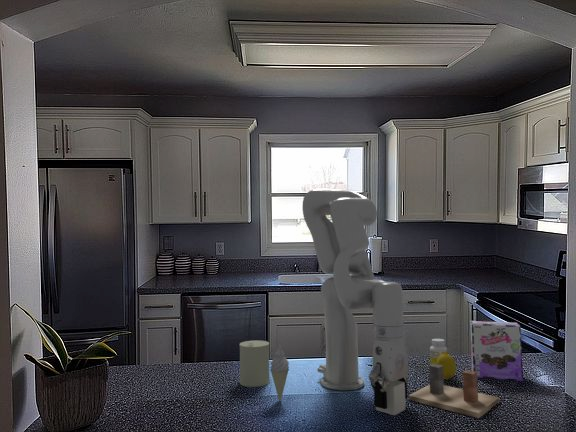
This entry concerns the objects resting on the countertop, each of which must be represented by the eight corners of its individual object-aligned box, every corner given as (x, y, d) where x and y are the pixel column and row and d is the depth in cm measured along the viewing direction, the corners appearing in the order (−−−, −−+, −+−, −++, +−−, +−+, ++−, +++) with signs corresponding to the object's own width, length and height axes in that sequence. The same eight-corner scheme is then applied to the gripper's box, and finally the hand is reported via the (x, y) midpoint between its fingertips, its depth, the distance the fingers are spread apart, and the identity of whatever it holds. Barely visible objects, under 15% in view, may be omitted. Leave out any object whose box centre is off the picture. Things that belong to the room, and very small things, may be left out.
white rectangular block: (376, 409, 107) (375, 382, 107) (387, 404, 110) (386, 377, 111) (394, 415, 103) (393, 387, 103) (405, 409, 107) (404, 382, 107)
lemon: (458, 383, 126) (457, 355, 127) (438, 382, 127) (437, 354, 128) (454, 377, 132) (453, 351, 132) (435, 376, 133) (434, 350, 133)
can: (234, 385, 127) (234, 344, 128) (246, 376, 136) (246, 338, 137) (263, 388, 124) (263, 346, 125) (274, 378, 133) (273, 339, 134)
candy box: (473, 377, 131) (470, 323, 132) (471, 372, 137) (469, 320, 138) (524, 381, 127) (520, 325, 128) (520, 376, 132) (517, 321, 133)
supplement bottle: (446, 368, 142) (445, 338, 142) (450, 373, 136) (448, 341, 137) (429, 368, 142) (428, 337, 143) (432, 372, 137) (431, 341, 138)
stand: (408, 400, 113) (407, 368, 114) (433, 387, 123) (432, 357, 124) (478, 418, 100) (477, 382, 101) (499, 402, 110) (497, 369, 111)
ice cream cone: (273, 405, 111) (272, 345, 112) (268, 398, 116) (267, 341, 117) (291, 402, 112) (290, 344, 113) (286, 396, 117) (285, 340, 118)
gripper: (382, 339, 99) (385, 416, 98) (419, 328, 111) (422, 396, 110) (356, 335, 104) (358, 408, 103) (393, 325, 117) (396, 390, 115)
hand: (391, 402), depth 106 cm, fingers open, 9 cm apart
